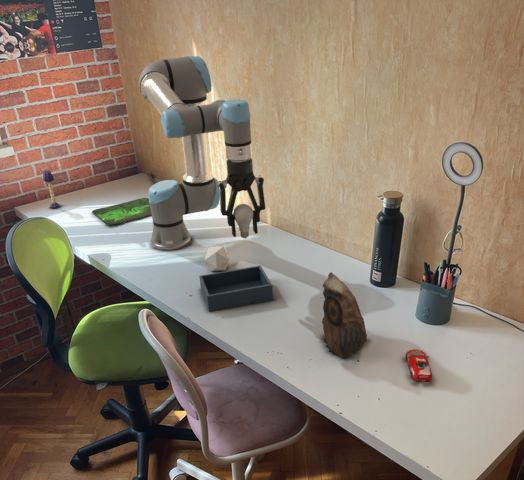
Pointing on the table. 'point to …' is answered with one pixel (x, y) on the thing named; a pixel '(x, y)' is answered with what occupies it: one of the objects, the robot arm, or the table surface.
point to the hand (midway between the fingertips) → (244, 233)
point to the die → (217, 258)
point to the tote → (236, 288)
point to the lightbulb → (243, 218)
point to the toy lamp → (50, 188)
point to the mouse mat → (124, 211)
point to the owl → (342, 319)
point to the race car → (419, 366)
